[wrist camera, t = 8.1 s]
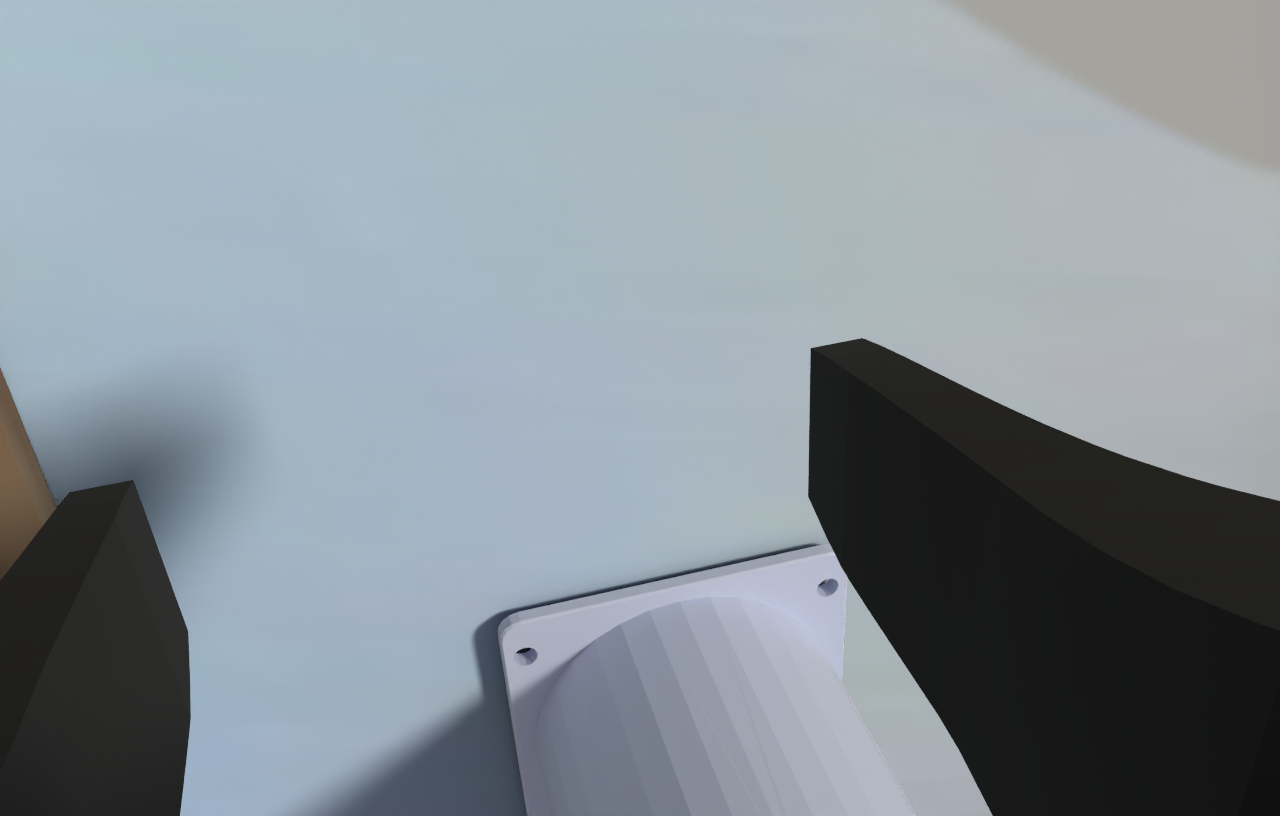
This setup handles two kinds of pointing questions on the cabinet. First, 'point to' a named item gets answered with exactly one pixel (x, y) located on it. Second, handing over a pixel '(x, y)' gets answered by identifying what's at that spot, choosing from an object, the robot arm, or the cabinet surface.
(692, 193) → the cabinet surface
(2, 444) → the hinge jig
